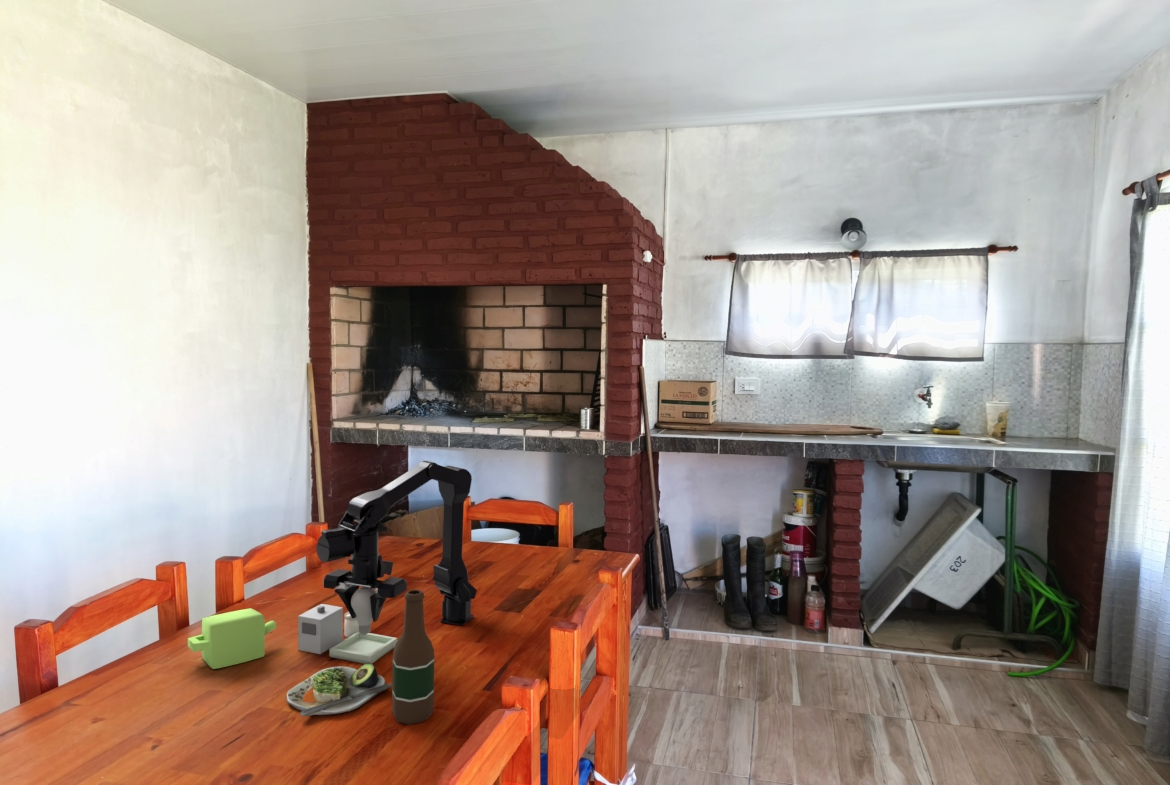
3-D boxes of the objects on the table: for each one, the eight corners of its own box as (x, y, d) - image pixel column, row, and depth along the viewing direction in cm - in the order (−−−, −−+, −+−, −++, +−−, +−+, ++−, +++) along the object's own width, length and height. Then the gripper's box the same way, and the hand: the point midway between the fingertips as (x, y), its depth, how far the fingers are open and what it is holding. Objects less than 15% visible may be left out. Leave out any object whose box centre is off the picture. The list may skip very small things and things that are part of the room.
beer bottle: (395, 704, 139) (397, 584, 137) (436, 703, 139) (437, 584, 138) (388, 725, 131) (389, 599, 129) (430, 725, 132) (432, 599, 130)
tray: (397, 645, 165) (397, 637, 165) (370, 664, 155) (370, 656, 155) (358, 638, 168) (358, 631, 168) (329, 656, 158) (329, 648, 158)
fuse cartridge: (365, 632, 172) (365, 612, 172) (355, 638, 168) (355, 618, 168) (351, 629, 173) (351, 609, 173) (340, 635, 170) (341, 615, 169)
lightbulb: (370, 641, 158) (370, 593, 157) (345, 638, 159) (345, 590, 158) (383, 630, 164) (383, 584, 163) (359, 627, 165) (359, 581, 164)
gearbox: (269, 640, 167) (269, 600, 167) (285, 652, 160) (285, 610, 160) (184, 660, 155) (184, 617, 155) (197, 674, 148) (197, 629, 148)
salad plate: (336, 734, 128) (336, 709, 128) (261, 712, 135) (261, 688, 135) (401, 687, 146) (401, 665, 146) (332, 670, 153) (332, 649, 153)
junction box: (343, 639, 167) (343, 602, 167) (319, 654, 159) (319, 615, 159) (322, 635, 169) (322, 599, 169) (297, 650, 161) (297, 612, 160)
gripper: (420, 547, 165) (419, 612, 166) (351, 539, 171) (351, 601, 172) (393, 561, 154) (392, 631, 156) (321, 551, 160) (321, 618, 161)
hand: (364, 619), depth 161 cm, fingers closed on lightbulb, 5 cm apart
